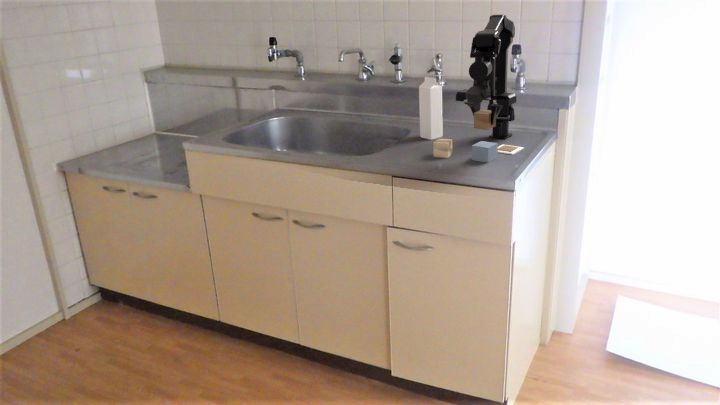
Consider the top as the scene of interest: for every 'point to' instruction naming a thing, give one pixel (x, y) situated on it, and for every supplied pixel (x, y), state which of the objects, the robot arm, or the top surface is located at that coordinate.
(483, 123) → the walnut block
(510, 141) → the top surface
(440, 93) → the milk
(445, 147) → the maple block
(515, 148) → the swatch
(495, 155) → the base block
